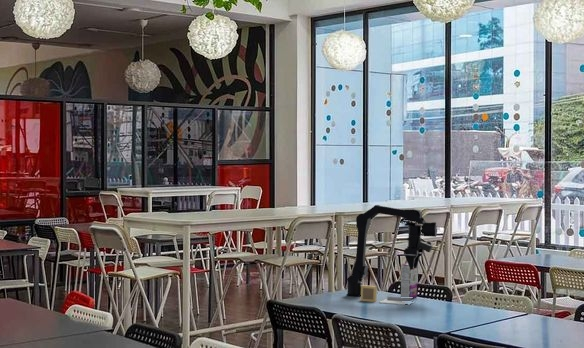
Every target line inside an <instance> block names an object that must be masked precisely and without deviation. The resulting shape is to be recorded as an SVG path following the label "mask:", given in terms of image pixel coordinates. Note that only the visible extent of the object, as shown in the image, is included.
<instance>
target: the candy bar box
mask: <svg viewBox="0 0 584 348" xmlns="http://www.w3.org/2000/svg"><path fill="white" fill-rule="evenodd" d="M400 297H415V298H417V297H418V267H417V268H414V266H413V270H411V269H410V267H409V265H408V262H407V263H402V264H401V265H400Z"/></svg>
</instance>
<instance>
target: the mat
mask: <svg viewBox="0 0 584 348" xmlns="http://www.w3.org/2000/svg"><path fill="white" fill-rule="evenodd" d="M402 301H412V299H411V298H401V296H400V297H399V296H387V297H386V298H385V299H383V300H381V301H379V304H388V305H399V306H406V305H405V304H408V303H405V302H402ZM407 306H411V305H410V304H408V305H407Z"/></svg>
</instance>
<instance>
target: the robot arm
mask: <svg viewBox="0 0 584 348" xmlns="http://www.w3.org/2000/svg"><path fill="white" fill-rule="evenodd" d="M379 214H381V215H386V216H393V217H399V218H403V219H405V220H407V222H406V223H404V227H408V235H407V236H408V237H407V238H406V239H407V242H408V243H407V244H408V245H407V247H405V248H404V249H403V255H404V257H405V259H406V262H407V263H408V265H409V267H410V269H411V270H413V266H414V268H417V269H418V264H419V261H420V257H422V256H423V255H424V253H425V252H426V253H431V251H432V249H433V244H432V241H427V242H425V241H423V239H422V237H421V235H423V237H433V238H436V237H438V236H437V235H438V227H437V226H438V225H437V222H436V221H434V222H428V221H426V220H425V219H424V217H423V213H422V211H421V210H420V209H415V208H414V209H412V208H411V209H402V208H397V207H396V208H395V207H390V206H383V205H379V204H375V205H373V206H372V207H371V208H369V209H368V210H366V211H365V212H364V213H359V214H358V215H357V216H356V219H355V222H356V228H357V243H356V254H355V261H354V264H353V268H352V272H351V274H350V275H349V276H348V277H347V278H346V281H347V294H346V296H348V295H352V297H361V296H360V295H361V285H363V283H362V282H363V280H364V279H365V278H366V277H367V275H368V274H369V272H368V269H369V265H366V250H367V238H368V237H367V235H368V231H369V228H370V225H371V222H372V220H373V219H374V218H375V217H377V215H379Z"/></svg>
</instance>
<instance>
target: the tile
mask: <svg viewBox="0 0 584 348" xmlns="http://www.w3.org/2000/svg"><path fill="white" fill-rule="evenodd" d="M377 290H378V286H377V285H366V284H365V285H363V284H362V285H361V296H360V302H372V303H376V302H377V293H378V291H377Z"/></svg>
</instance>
